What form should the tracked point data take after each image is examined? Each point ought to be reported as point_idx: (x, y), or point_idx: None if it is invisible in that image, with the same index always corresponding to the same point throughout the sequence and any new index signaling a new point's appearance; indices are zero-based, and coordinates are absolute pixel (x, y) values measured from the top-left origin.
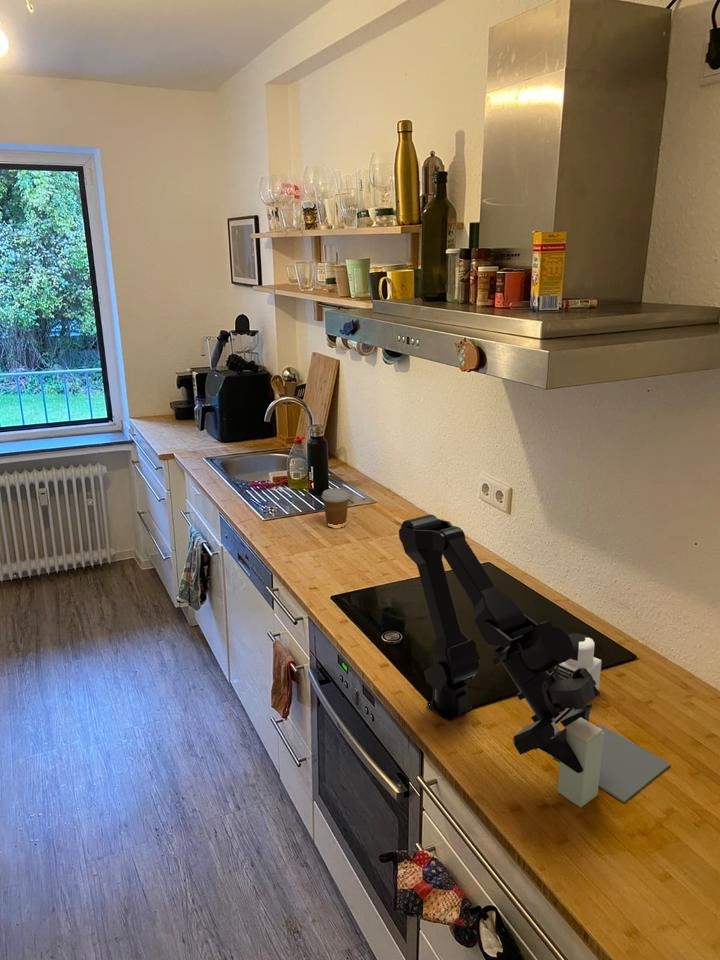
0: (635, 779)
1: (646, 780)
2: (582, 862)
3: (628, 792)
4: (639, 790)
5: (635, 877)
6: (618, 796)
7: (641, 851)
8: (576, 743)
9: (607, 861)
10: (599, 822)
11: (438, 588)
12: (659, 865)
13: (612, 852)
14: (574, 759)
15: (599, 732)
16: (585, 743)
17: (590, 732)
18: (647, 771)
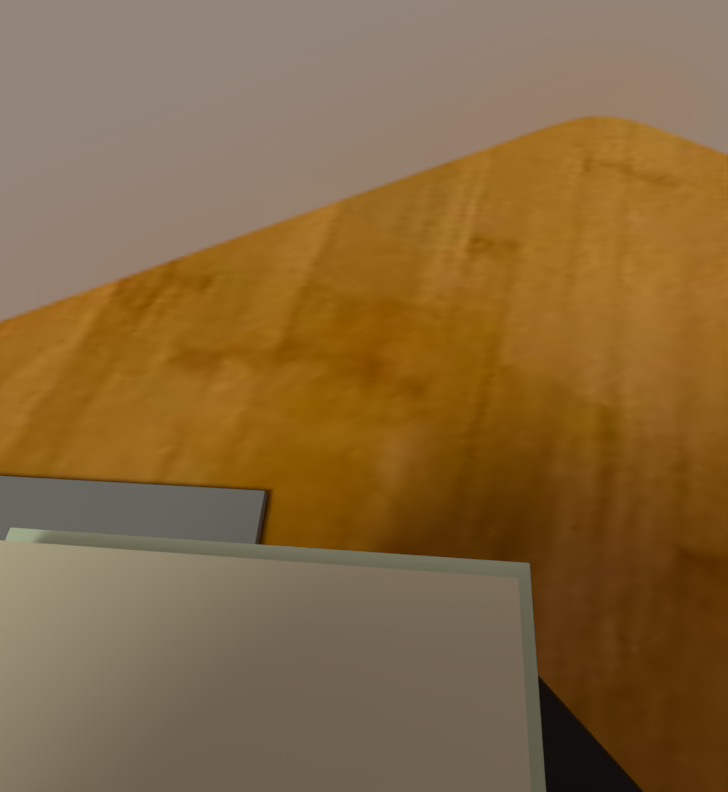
0: (89, 528)
1: (70, 489)
2: (713, 436)
3: (196, 506)
4: (147, 486)
5: (578, 291)
6: (251, 525)
7: (458, 330)
8: None
9: (610, 378)
10: (458, 508)
11: None
12: (463, 272)
13: (555, 389)
14: (569, 726)
15: (72, 547)
16: (527, 604)
17: (199, 681)
18: (3, 517)
